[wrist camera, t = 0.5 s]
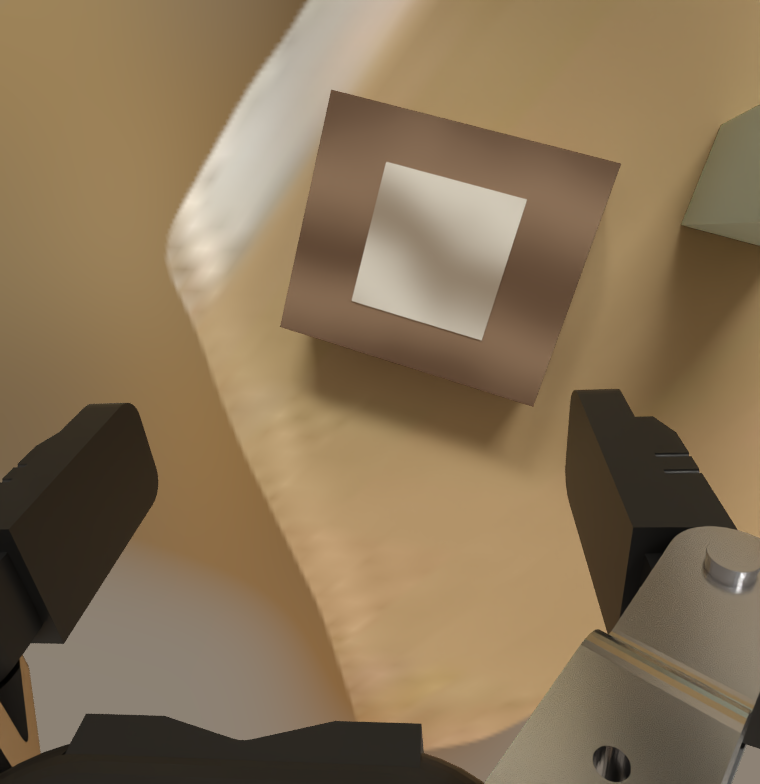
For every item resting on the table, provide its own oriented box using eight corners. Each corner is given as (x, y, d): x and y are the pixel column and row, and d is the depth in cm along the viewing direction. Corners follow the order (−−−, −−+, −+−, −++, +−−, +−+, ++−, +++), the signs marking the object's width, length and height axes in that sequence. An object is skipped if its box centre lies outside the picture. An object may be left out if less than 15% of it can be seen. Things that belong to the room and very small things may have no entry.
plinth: (357, 109, 34) (330, 89, 29) (606, 173, 32) (621, 163, 27) (310, 314, 38) (279, 327, 33) (531, 383, 36) (533, 407, 31)
